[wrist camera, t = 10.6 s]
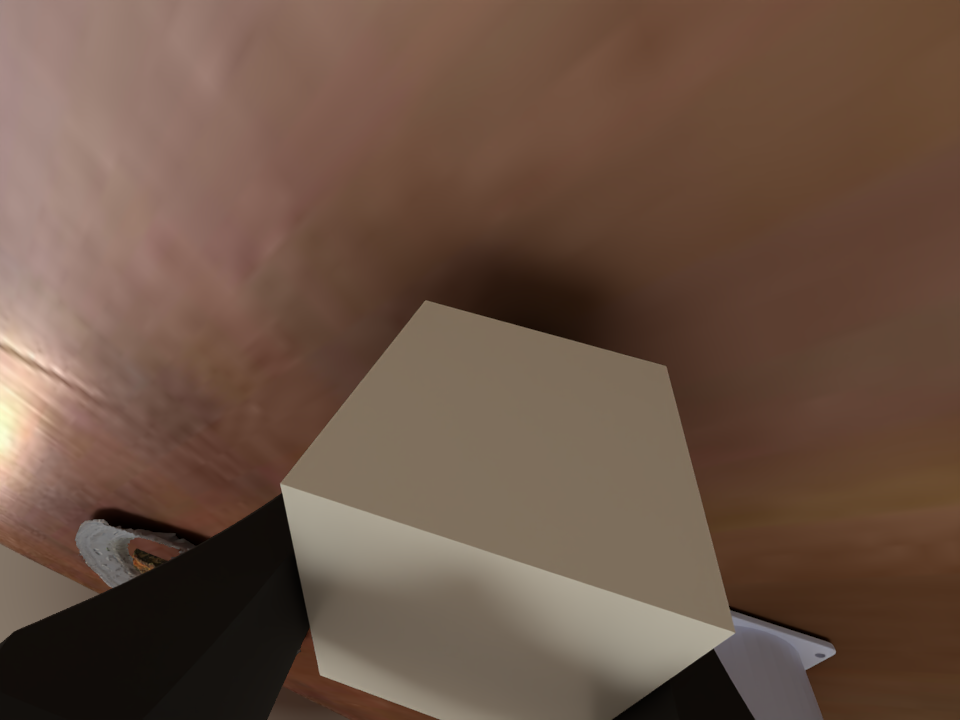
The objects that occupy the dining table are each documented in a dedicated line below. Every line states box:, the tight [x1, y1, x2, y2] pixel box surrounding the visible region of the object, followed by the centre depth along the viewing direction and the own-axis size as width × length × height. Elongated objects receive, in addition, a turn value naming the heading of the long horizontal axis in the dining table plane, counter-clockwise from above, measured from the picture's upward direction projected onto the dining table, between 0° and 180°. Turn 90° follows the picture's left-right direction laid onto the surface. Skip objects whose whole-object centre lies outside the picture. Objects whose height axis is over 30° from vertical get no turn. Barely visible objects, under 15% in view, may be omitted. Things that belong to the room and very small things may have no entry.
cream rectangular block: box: [280, 300, 736, 720], centre depth 10 cm, size 8×6×6 cm
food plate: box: [75, 519, 301, 654], centre depth 42 cm, size 25×23×4 cm
